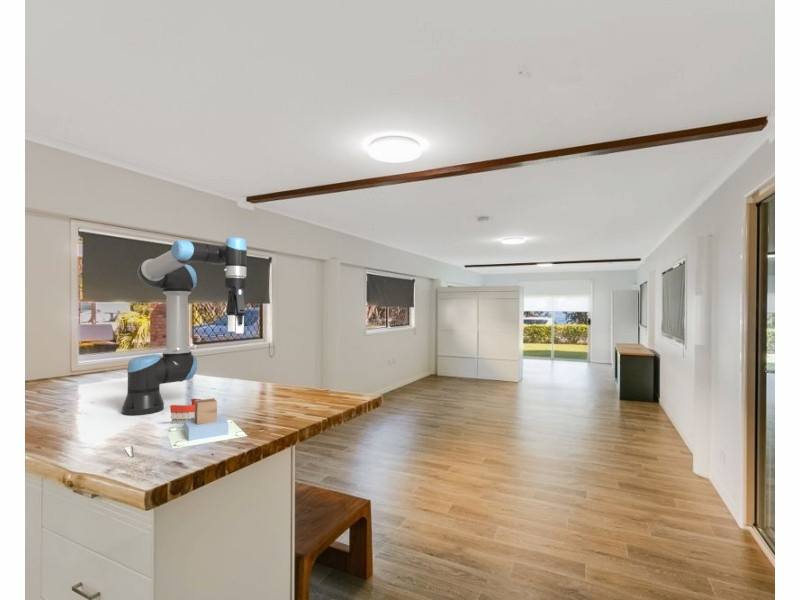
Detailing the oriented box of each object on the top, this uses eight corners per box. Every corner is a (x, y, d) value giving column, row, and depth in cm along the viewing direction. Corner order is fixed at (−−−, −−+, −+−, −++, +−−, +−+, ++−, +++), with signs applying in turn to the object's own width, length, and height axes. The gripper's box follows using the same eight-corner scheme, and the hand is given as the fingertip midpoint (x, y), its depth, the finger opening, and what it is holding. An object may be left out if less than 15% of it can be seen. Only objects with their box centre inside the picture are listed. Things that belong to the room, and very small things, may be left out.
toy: (193, 429, 147) (193, 407, 148) (168, 427, 149) (168, 405, 150) (215, 420, 160) (215, 399, 160) (192, 418, 162) (192, 398, 162)
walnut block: (194, 420, 140) (194, 400, 140) (213, 418, 143) (213, 398, 143) (197, 424, 135) (197, 403, 135) (216, 422, 138) (217, 401, 138)
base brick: (183, 431, 140) (184, 420, 140) (221, 426, 147) (221, 415, 147) (188, 441, 130) (188, 428, 130) (228, 434, 137) (228, 422, 137)
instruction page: (124, 448, 127) (124, 447, 127) (149, 443, 131) (149, 442, 131) (130, 457, 119) (130, 456, 119) (157, 451, 124) (157, 450, 124)
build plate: (165, 433, 141) (166, 427, 142) (232, 424, 154) (232, 418, 154) (172, 452, 123) (172, 445, 123) (247, 439, 136) (247, 432, 136)
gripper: (219, 279, 166) (218, 331, 165) (233, 275, 145) (232, 334, 145) (238, 280, 170) (237, 330, 169) (254, 276, 149) (253, 333, 149)
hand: (235, 332), depth 157 cm, fingers open, 13 cm apart
